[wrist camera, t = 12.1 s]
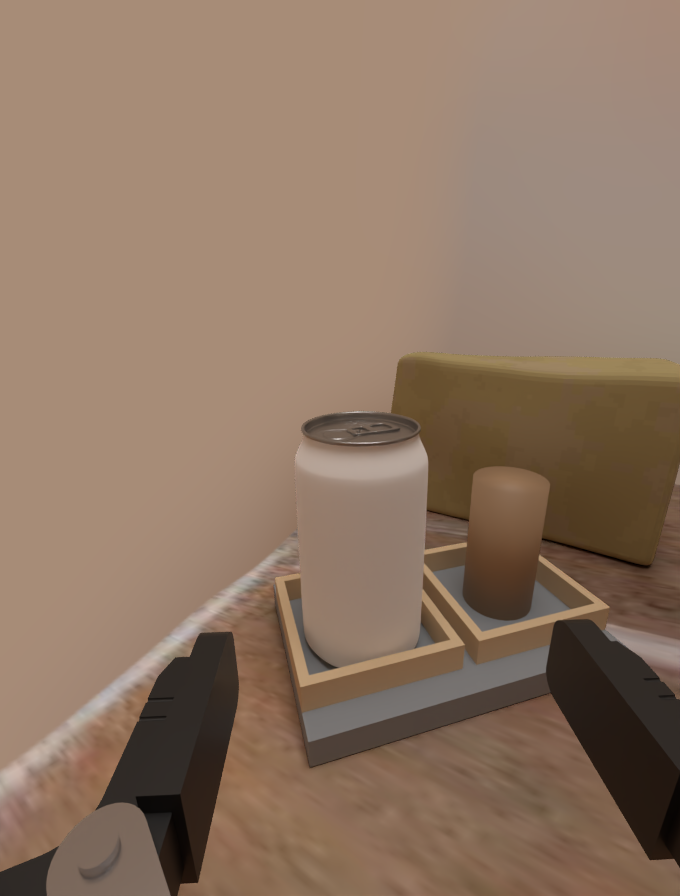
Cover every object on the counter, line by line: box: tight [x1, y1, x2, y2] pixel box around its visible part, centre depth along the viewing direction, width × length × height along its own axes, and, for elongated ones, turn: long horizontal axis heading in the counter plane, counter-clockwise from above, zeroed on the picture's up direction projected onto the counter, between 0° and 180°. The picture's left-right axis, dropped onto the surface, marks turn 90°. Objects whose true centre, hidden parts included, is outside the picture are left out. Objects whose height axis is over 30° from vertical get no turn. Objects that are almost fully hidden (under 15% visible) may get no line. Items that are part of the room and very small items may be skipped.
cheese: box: [391, 352, 680, 565], centre depth 36 cm, size 22×10×15 cm, turn 66°
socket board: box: [274, 466, 627, 767], centre depth 24 cm, size 17×11×10 cm, turn 106°
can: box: [295, 411, 428, 668], centre depth 21 cm, size 6×6×12 cm
